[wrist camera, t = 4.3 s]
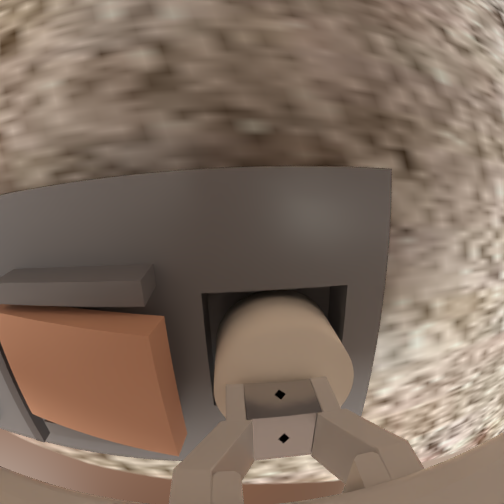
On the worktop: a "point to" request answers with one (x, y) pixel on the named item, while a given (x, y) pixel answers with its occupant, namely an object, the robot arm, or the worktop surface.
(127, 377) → the rocker switch
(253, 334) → the push button
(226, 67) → the worktop surface
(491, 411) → the worktop surface
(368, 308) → the control panel
